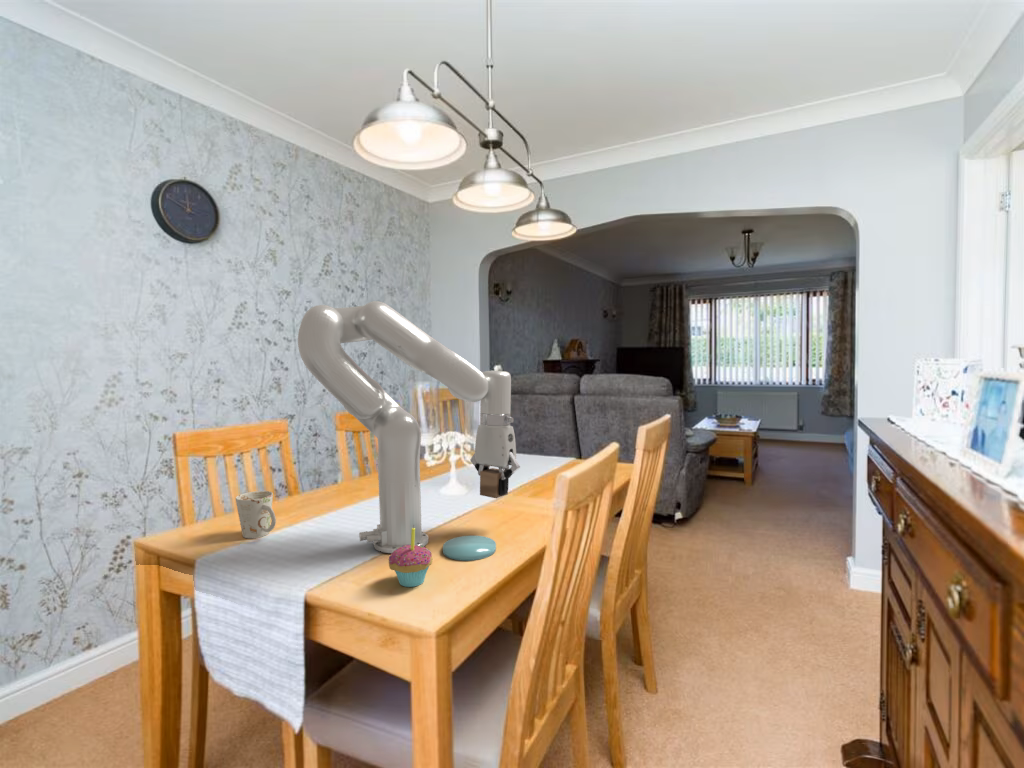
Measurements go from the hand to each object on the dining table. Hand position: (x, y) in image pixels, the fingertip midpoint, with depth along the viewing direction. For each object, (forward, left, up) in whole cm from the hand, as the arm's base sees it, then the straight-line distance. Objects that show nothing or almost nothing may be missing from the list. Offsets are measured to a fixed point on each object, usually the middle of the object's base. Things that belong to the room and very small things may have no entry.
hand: (493, 491), depth 128 cm
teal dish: (-10, -9, -10) cm, 17 cm away
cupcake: (-26, -19, -10) cm, 34 cm away
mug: (-53, +24, -10) cm, 59 cm away
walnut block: (0, 0, -1) cm, 1 cm away
